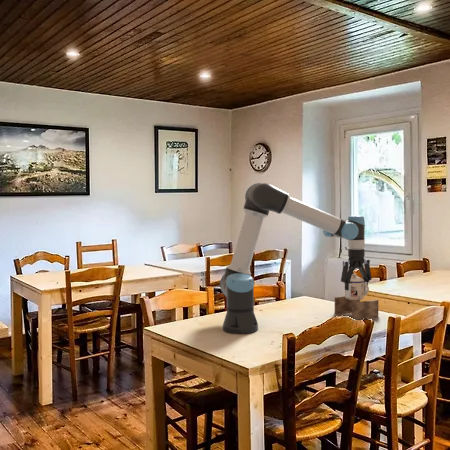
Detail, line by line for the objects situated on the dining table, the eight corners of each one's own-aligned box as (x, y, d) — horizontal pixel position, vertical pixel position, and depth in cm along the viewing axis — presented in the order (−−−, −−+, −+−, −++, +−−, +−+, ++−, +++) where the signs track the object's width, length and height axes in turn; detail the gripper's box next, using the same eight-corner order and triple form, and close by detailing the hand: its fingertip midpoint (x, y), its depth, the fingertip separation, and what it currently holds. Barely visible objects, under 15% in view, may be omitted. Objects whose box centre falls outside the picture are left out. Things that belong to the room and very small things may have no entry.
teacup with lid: (341, 298, 255) (340, 274, 254) (351, 295, 261) (351, 271, 261) (363, 302, 247) (363, 276, 246) (373, 298, 253) (373, 274, 252)
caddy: (353, 320, 245) (353, 303, 244) (334, 313, 259) (334, 297, 258) (378, 317, 250) (378, 300, 250) (358, 310, 264) (358, 294, 263)
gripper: (369, 246, 260) (369, 292, 261) (332, 248, 252) (332, 296, 253) (379, 247, 253) (379, 295, 254) (342, 250, 245) (342, 299, 246)
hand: (356, 296), depth 254 cm, fingers closed on teacup with lid, 8 cm apart
